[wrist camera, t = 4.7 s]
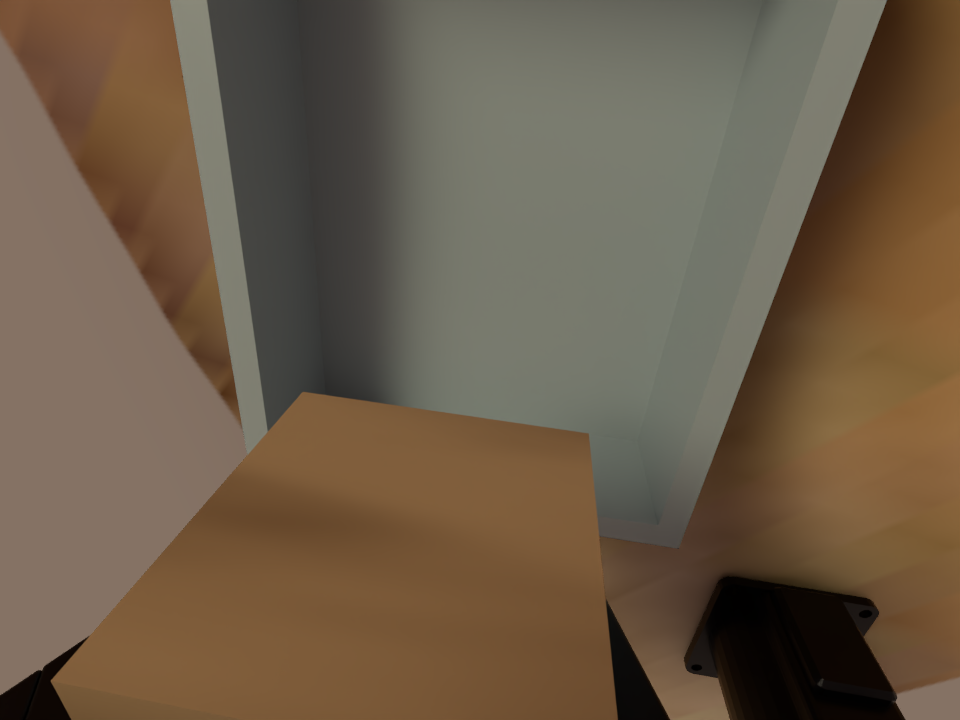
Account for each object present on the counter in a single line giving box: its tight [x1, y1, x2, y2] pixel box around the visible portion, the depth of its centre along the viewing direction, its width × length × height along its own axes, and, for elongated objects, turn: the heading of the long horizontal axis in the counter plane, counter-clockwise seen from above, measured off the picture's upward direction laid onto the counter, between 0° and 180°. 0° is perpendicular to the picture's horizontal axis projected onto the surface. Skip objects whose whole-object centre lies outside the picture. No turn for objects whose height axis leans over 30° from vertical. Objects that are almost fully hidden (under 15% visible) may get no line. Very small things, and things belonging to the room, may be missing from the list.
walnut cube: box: [51, 392, 618, 720], centre depth 8 cm, size 5×5×5 cm
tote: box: [170, 0, 887, 549], centre depth 14 cm, size 18×14×5 cm
